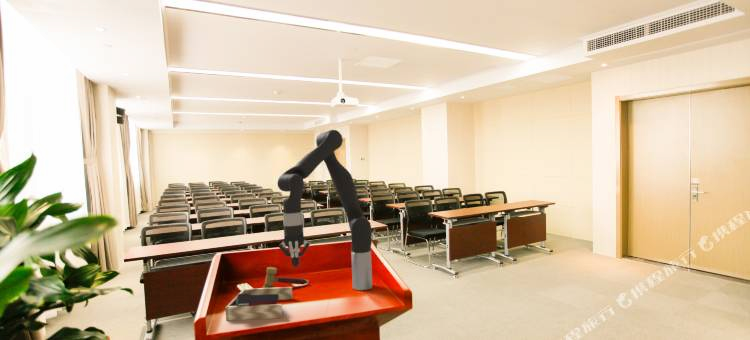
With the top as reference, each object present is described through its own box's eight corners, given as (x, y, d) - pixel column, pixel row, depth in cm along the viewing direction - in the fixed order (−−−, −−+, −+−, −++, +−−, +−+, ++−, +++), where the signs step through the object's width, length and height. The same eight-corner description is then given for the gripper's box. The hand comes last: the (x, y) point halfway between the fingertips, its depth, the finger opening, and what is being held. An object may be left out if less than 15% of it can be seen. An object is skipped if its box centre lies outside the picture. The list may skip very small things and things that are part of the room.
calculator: (273, 306, 155) (235, 308, 149) (274, 296, 157) (236, 297, 151) (278, 303, 146) (237, 305, 140) (278, 292, 148) (238, 293, 142)
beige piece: (292, 298, 163) (291, 286, 162) (281, 317, 143) (280, 304, 142) (243, 300, 162) (243, 288, 162) (226, 320, 142) (225, 307, 142)
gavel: (306, 291, 182) (310, 270, 183) (308, 294, 178) (312, 273, 179) (262, 288, 174) (266, 266, 175) (263, 291, 170) (267, 268, 171)
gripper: (311, 221, 155) (313, 262, 155) (278, 222, 154) (281, 264, 155) (308, 224, 147) (311, 268, 148) (274, 226, 147) (277, 270, 147)
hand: (295, 266), depth 151 cm, fingers closed
